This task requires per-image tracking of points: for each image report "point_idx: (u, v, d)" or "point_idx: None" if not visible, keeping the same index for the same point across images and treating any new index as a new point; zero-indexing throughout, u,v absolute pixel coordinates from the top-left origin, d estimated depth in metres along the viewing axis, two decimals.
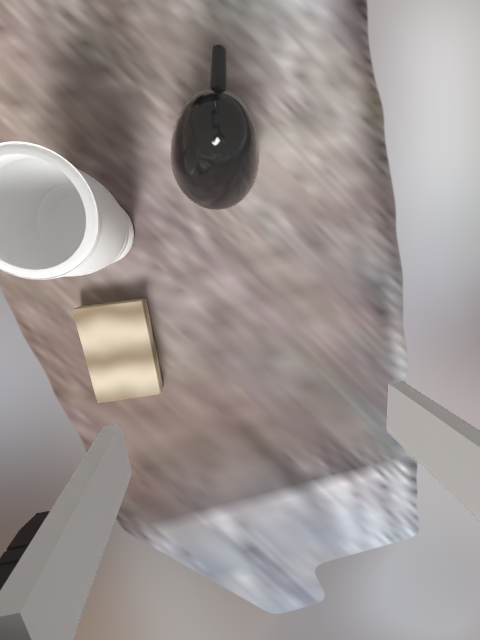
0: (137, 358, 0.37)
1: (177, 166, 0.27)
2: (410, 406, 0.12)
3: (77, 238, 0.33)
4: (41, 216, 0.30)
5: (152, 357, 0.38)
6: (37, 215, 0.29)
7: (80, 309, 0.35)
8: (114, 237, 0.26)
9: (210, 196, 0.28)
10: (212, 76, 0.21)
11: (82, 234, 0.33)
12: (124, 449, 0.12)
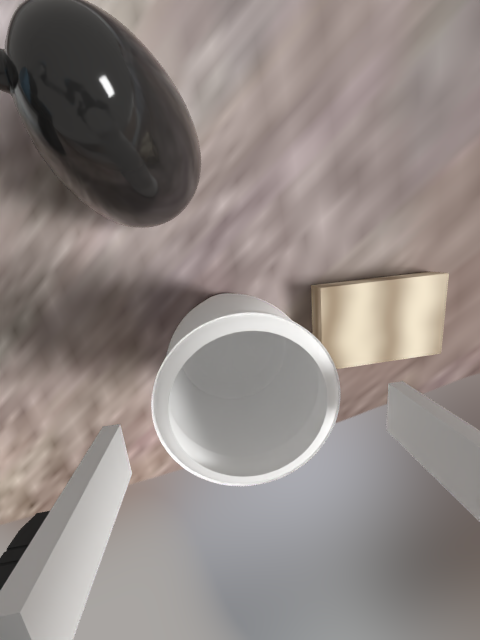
0: (394, 300, 0.27)
1: (150, 202, 0.17)
2: (410, 406, 0.12)
3: (239, 357, 0.27)
4: (219, 392, 0.24)
5: (397, 280, 0.27)
6: (219, 396, 0.24)
7: None
8: (262, 303, 0.17)
9: (191, 149, 0.17)
10: None
11: (234, 352, 0.27)
12: (124, 449, 0.12)
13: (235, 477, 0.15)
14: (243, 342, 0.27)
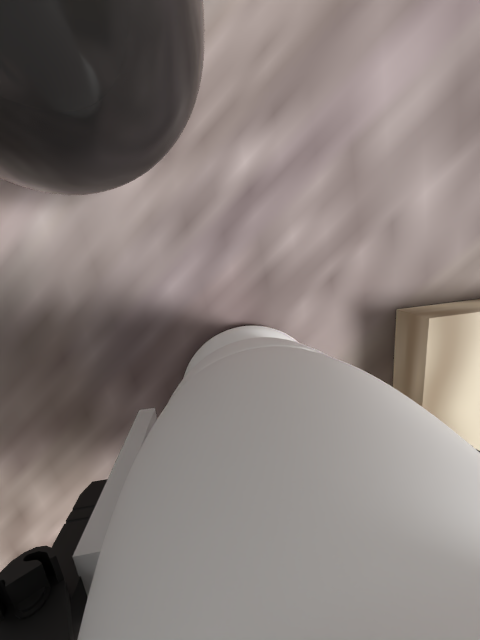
0: None
1: (24, 69, 0.05)
2: None
3: None
4: None
5: None
6: None
7: None
8: (411, 417, 0.05)
9: None
10: None
11: None
12: None
13: None
14: None
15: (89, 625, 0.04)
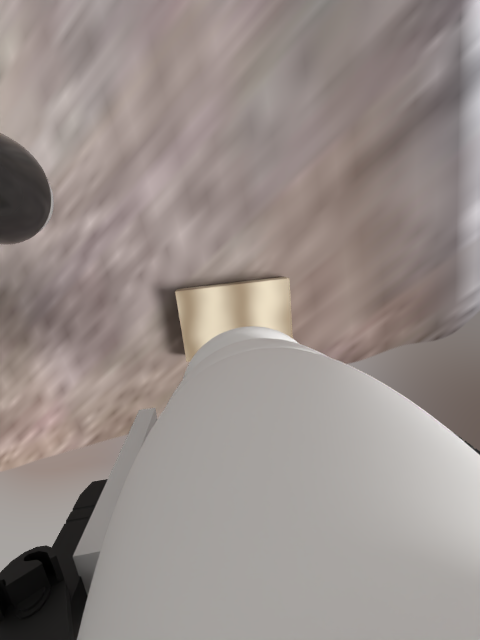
0: (243, 301, 0.33)
1: None
2: None
3: None
4: None
5: (243, 284, 0.32)
6: None
7: (186, 354, 0.33)
8: (410, 419, 0.05)
9: (14, 187, 0.22)
10: None
11: None
12: None
13: None
14: None
15: (88, 629, 0.04)
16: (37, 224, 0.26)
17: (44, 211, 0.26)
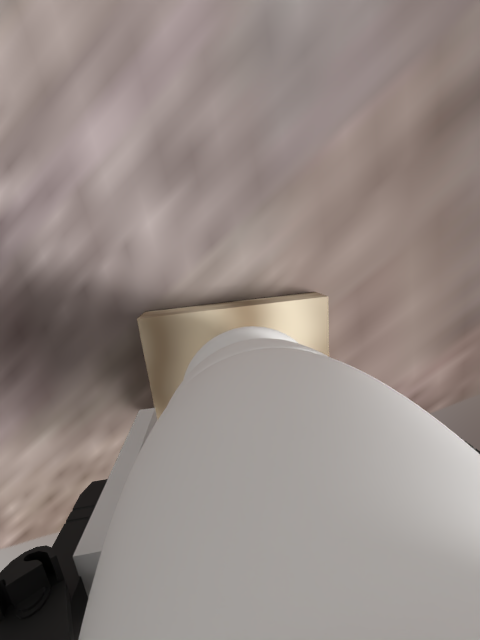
0: None
1: None
2: None
3: None
4: None
5: (252, 306, 0.19)
6: None
7: (158, 418, 0.20)
8: (412, 419, 0.05)
9: None
10: None
11: None
12: None
13: None
14: None
15: (89, 630, 0.04)
16: None
17: None
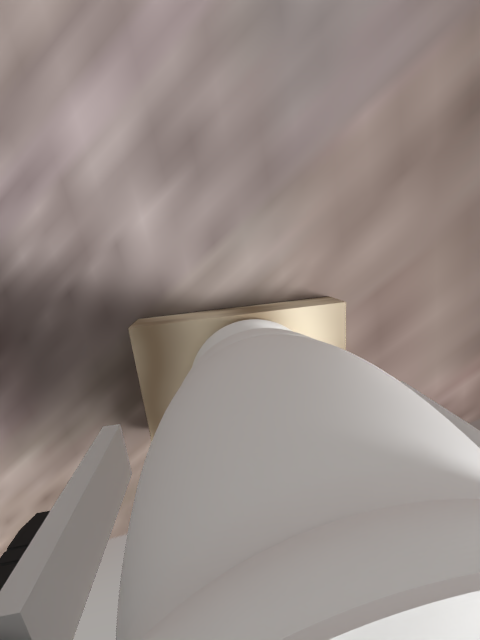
0: None
1: None
2: None
3: None
4: None
5: (260, 313, 0.17)
6: None
7: None
8: (383, 381, 0.07)
9: None
10: None
11: None
12: (124, 449, 0.12)
13: None
14: None
15: (140, 524, 0.05)
16: None
17: None
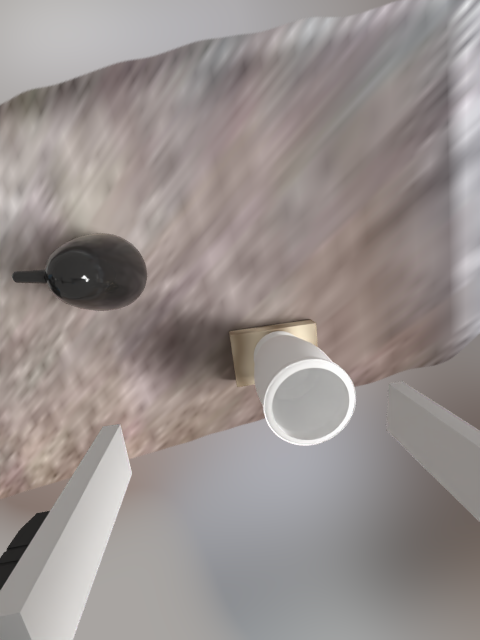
0: None
1: (113, 306, 0.33)
2: (410, 406, 0.12)
3: None
4: (278, 396, 0.39)
5: (281, 328, 0.42)
6: (278, 398, 0.39)
7: (237, 381, 0.43)
8: (311, 347, 0.32)
9: (133, 278, 0.33)
10: (37, 282, 0.27)
11: None
12: (124, 449, 0.12)
13: (302, 440, 0.29)
14: None
15: (265, 372, 0.31)
16: (138, 295, 0.37)
17: (143, 286, 0.36)
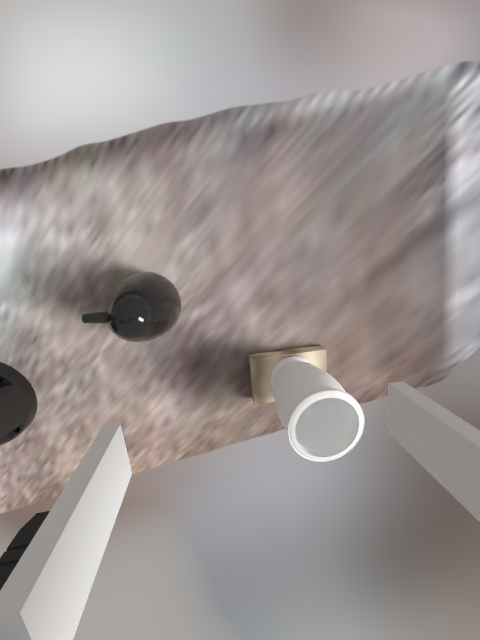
0: None
1: (155, 338, 0.38)
2: (410, 406, 0.12)
3: None
4: None
5: (295, 354, 0.47)
6: None
7: (254, 399, 0.49)
8: (327, 377, 0.37)
9: (174, 314, 0.38)
10: (100, 322, 0.31)
11: None
12: (124, 449, 0.12)
13: (318, 457, 0.35)
14: None
15: (288, 398, 0.36)
16: None
17: (178, 317, 0.41)
